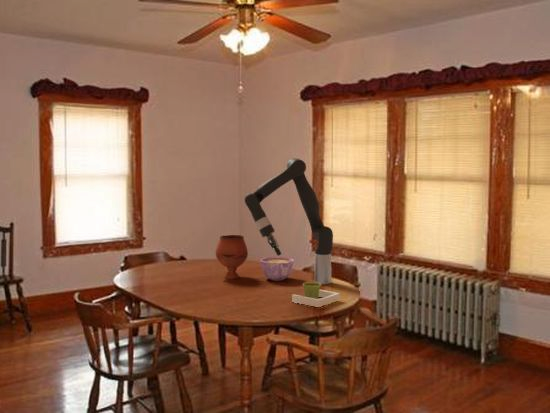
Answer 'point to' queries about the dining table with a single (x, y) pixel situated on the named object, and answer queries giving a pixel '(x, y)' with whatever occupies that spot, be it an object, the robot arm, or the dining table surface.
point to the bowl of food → (277, 267)
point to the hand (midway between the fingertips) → (279, 254)
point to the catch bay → (326, 299)
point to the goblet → (231, 253)
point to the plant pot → (312, 289)
